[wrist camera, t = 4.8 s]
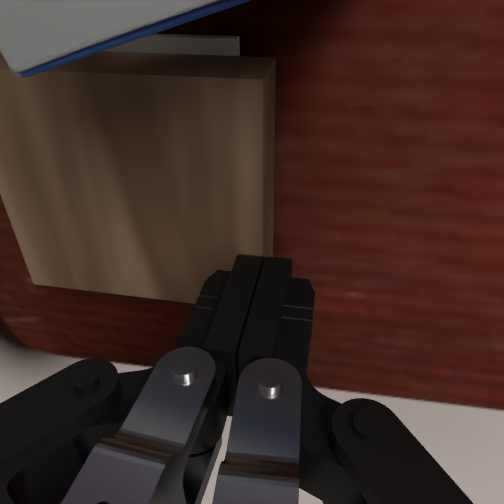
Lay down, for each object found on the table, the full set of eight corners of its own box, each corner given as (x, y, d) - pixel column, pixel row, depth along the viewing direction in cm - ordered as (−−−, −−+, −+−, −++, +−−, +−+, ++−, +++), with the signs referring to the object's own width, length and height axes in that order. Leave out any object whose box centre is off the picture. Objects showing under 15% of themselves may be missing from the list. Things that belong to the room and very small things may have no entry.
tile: (262, 79, 14) (-47, 66, 15) (262, 312, 19) (33, 284, 20) (276, 56, 16) (3, 46, 17) (273, 271, 21) (64, 248, 23)
